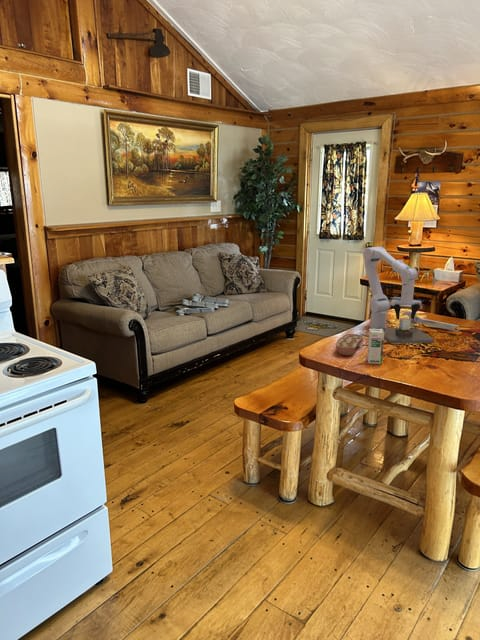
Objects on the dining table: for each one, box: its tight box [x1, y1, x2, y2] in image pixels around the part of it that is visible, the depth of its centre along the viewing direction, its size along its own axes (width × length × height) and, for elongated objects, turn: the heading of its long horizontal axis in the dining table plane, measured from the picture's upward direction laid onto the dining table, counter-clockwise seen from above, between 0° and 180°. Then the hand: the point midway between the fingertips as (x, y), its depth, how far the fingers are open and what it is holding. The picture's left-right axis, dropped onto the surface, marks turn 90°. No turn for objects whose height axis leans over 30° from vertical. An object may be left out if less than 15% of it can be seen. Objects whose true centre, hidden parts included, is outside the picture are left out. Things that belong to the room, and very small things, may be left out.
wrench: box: [401, 310, 461, 332], centre depth 263 cm, size 8×2×30 cm
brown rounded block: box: [335, 333, 364, 357], centre depth 228 cm, size 23×10×5 cm, turn 154°
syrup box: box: [366, 328, 385, 365], centre depth 211 cm, size 6×6×14 cm
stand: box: [376, 326, 435, 344], centre depth 248 cm, size 22×22×4 cm
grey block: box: [398, 317, 411, 330], centre depth 247 cm, size 4×4×5 cm
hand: (405, 318), depth 246 cm, fingers open, 7 cm apart
